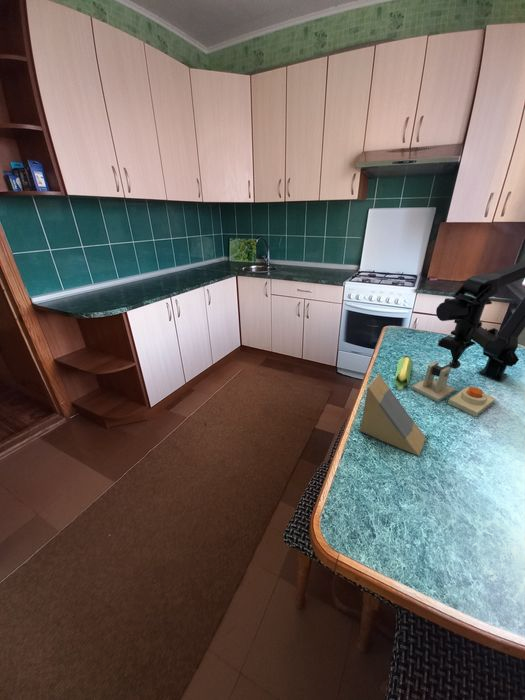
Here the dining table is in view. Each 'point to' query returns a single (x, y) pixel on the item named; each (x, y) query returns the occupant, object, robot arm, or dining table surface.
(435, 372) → the black lever handle
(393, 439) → the sandwich container
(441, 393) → the lever stand
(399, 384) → the edible corn
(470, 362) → the dining table surface
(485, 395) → the control block
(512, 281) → the robot arm
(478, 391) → the button
